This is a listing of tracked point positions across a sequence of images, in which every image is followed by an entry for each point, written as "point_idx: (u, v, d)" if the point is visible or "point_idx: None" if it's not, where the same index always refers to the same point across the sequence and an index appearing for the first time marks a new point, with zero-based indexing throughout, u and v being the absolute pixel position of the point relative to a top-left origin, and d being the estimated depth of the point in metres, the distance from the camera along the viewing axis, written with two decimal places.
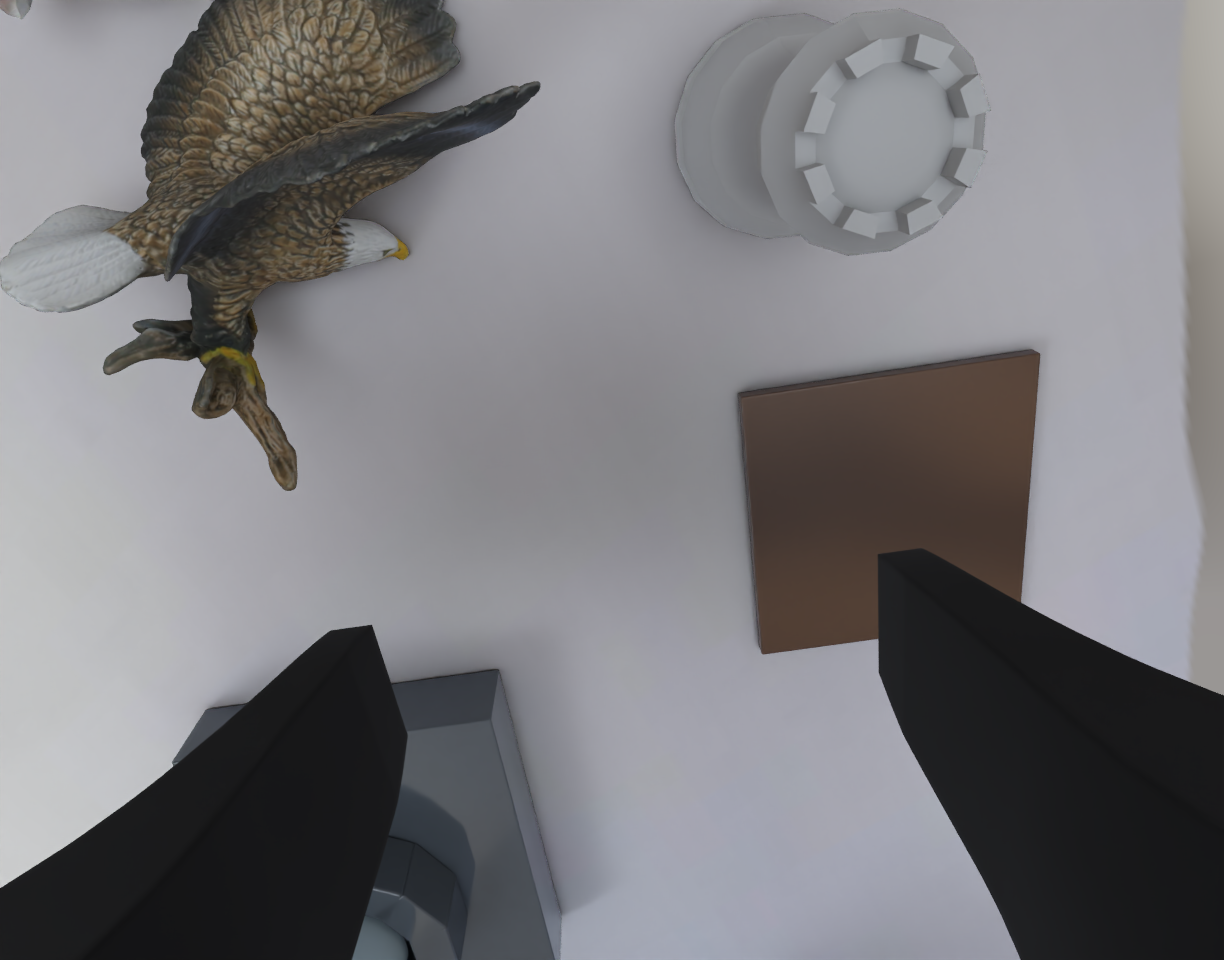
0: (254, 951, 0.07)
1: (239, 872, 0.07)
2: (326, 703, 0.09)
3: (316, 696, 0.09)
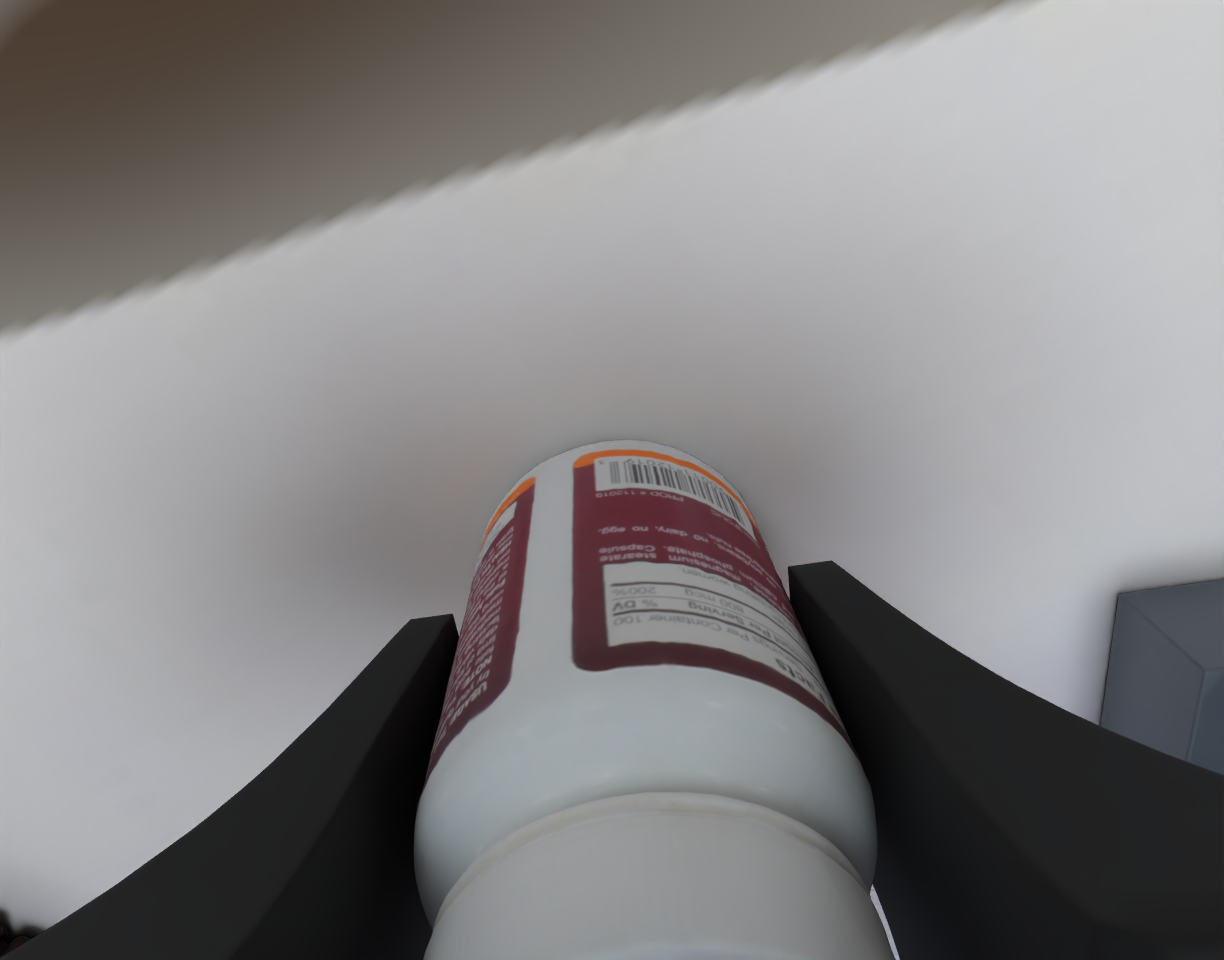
0: (375, 936, 0.07)
1: (360, 856, 0.07)
2: (421, 690, 0.09)
3: (412, 683, 0.09)
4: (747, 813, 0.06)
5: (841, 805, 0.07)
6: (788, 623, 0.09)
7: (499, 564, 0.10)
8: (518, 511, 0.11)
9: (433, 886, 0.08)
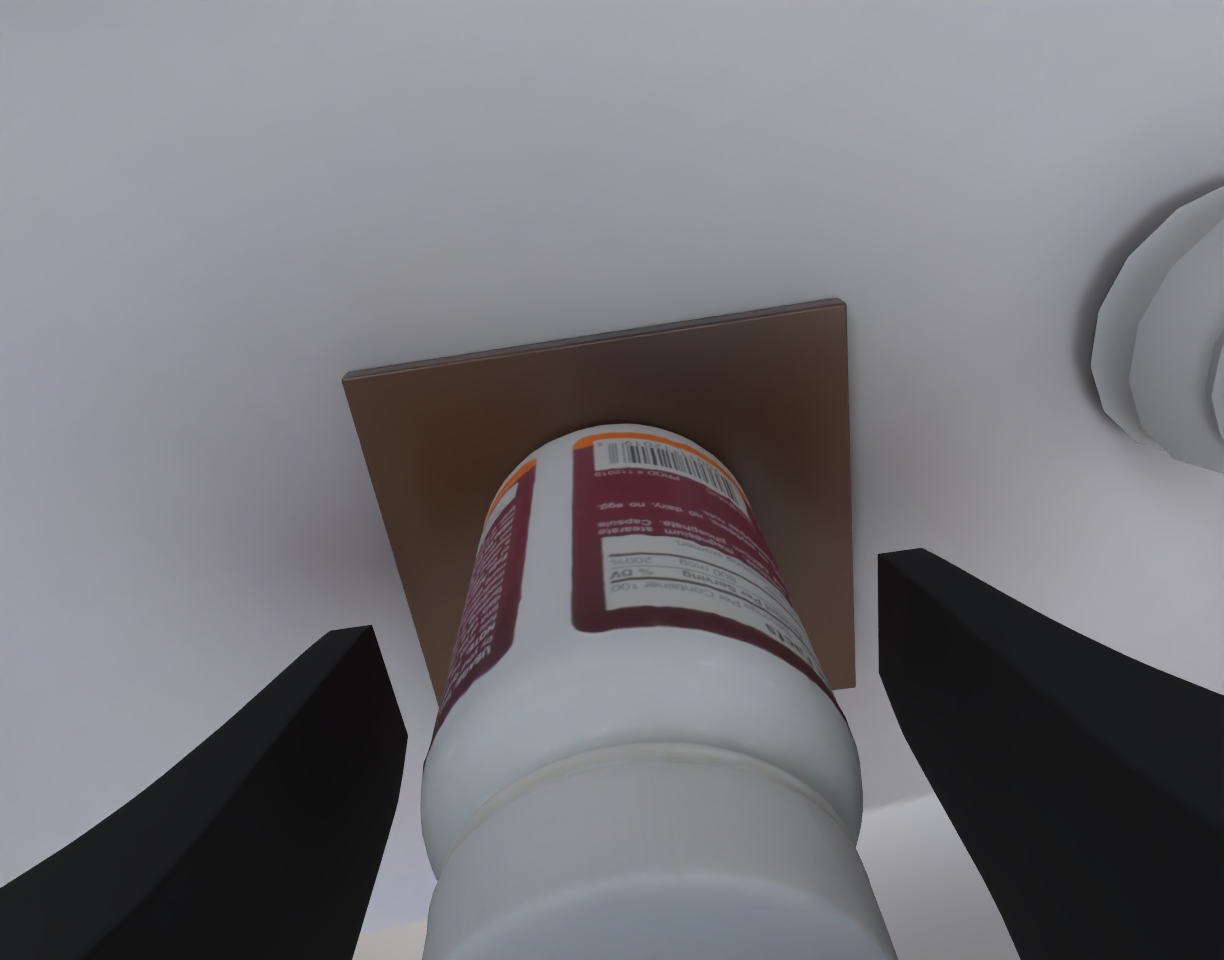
0: (254, 951, 0.07)
1: (239, 872, 0.07)
2: (326, 703, 0.09)
3: (316, 697, 0.09)
4: (736, 761, 0.07)
5: (826, 759, 0.08)
6: (779, 594, 0.10)
7: (501, 540, 0.11)
8: (521, 490, 0.12)
9: (439, 838, 0.08)
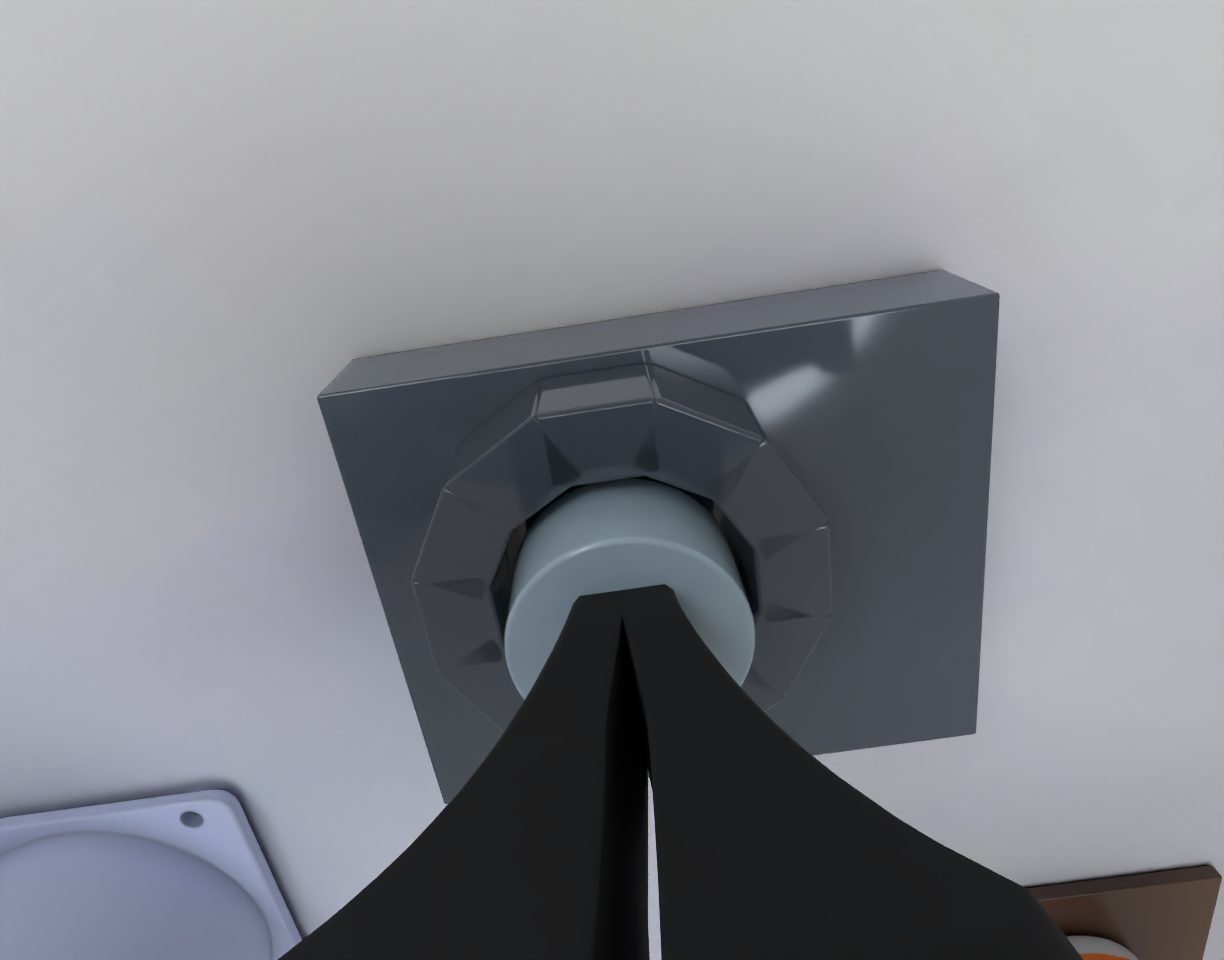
0: (627, 904, 0.07)
1: (615, 823, 0.07)
2: (621, 663, 0.09)
3: (617, 655, 0.09)
4: None
5: None
6: None
7: None
8: None
9: None
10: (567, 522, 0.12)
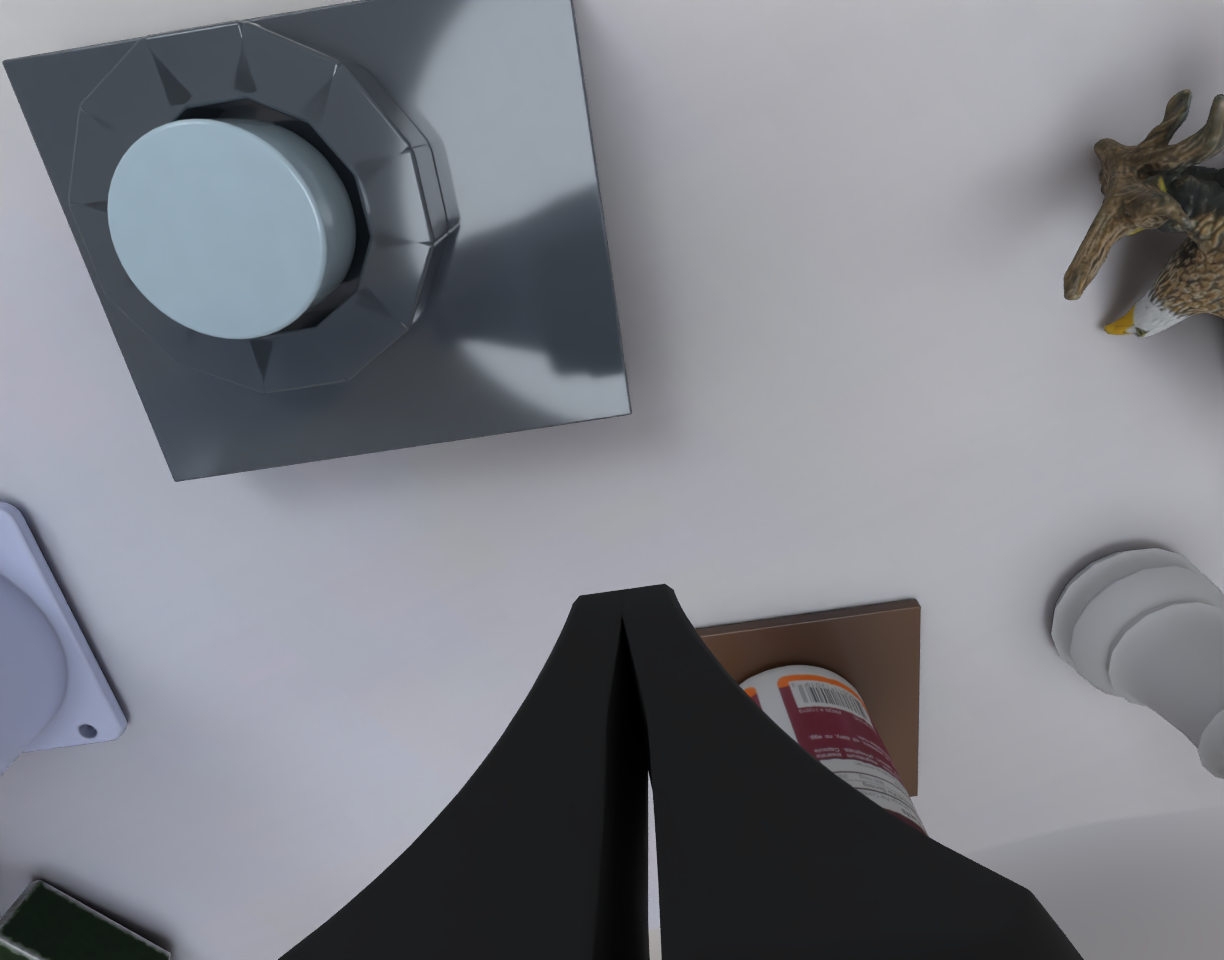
0: (628, 904, 0.07)
1: (616, 823, 0.07)
2: (621, 663, 0.09)
3: (617, 655, 0.09)
4: None
5: None
6: (899, 783, 0.20)
7: None
8: None
9: None
10: None
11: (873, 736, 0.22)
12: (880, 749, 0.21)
